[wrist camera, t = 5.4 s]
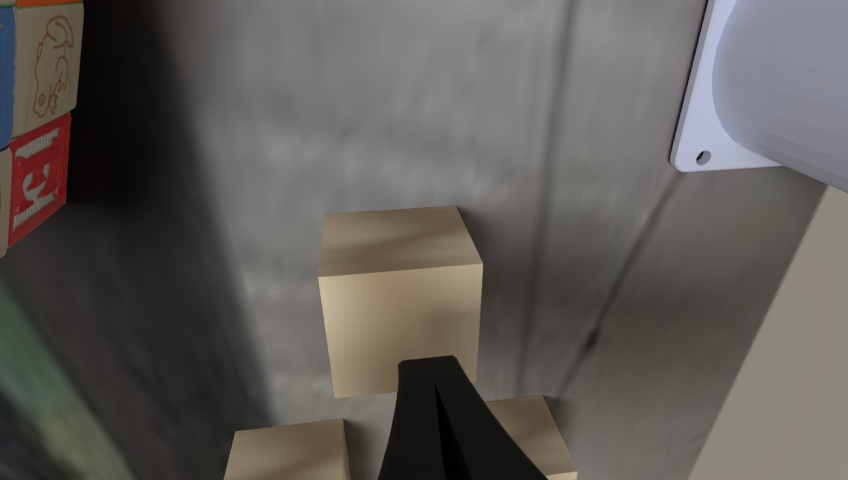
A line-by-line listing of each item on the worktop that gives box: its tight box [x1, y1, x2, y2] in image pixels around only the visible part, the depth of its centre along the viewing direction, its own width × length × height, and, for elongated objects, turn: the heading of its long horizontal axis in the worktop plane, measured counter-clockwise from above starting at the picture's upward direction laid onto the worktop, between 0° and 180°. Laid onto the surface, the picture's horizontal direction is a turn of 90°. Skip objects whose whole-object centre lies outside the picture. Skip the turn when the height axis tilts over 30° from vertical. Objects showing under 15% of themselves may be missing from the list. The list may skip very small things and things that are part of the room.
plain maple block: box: [318, 206, 483, 399], centre depth 16 cm, size 4×4×4 cm
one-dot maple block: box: [485, 395, 578, 480], centre depth 21 cm, size 4×4×4 cm
